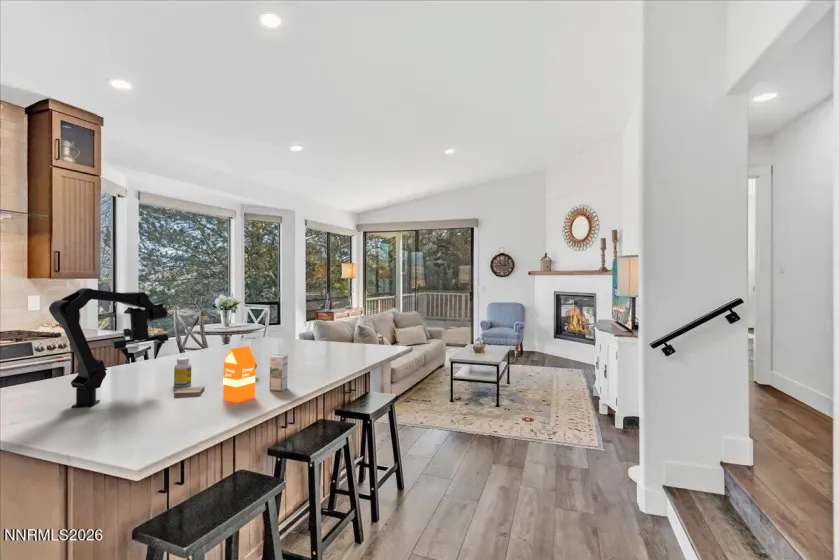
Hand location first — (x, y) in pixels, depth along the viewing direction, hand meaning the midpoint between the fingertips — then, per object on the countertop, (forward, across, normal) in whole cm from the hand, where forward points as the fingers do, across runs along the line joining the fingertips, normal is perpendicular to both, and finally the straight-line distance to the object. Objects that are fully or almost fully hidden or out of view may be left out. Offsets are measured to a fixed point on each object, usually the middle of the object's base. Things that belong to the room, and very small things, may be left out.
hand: (142, 361), depth 174 cm
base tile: (+13, -12, +16) cm, 24 cm away
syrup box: (+15, -42, +33) cm, 55 cm away
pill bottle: (+14, -14, 0) cm, 20 cm away
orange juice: (+14, -24, +35) cm, 45 cm away
